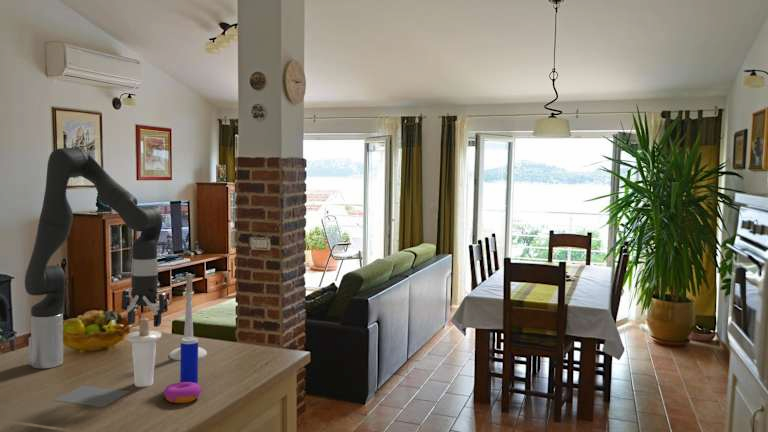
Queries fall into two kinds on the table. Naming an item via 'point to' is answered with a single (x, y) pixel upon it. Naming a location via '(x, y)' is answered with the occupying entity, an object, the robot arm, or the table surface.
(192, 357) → the beverage can
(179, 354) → the candlestick
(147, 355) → the drinking glass
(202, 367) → the table surface
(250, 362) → the table surface
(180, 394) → the donut
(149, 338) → the lid
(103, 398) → the mat
